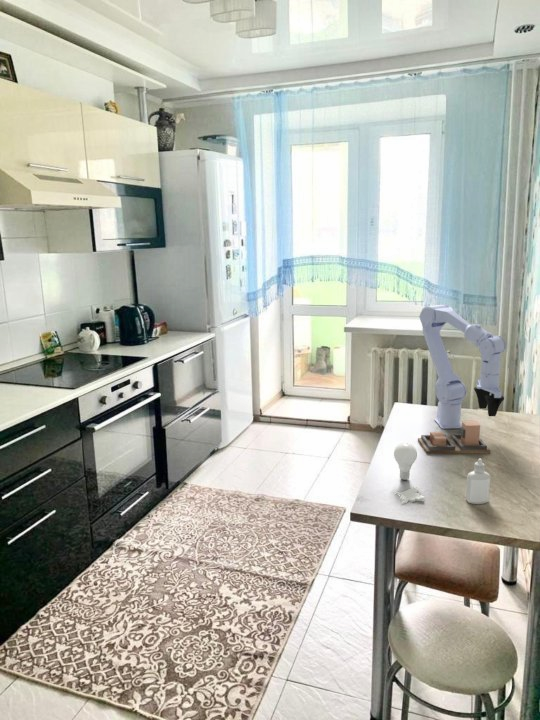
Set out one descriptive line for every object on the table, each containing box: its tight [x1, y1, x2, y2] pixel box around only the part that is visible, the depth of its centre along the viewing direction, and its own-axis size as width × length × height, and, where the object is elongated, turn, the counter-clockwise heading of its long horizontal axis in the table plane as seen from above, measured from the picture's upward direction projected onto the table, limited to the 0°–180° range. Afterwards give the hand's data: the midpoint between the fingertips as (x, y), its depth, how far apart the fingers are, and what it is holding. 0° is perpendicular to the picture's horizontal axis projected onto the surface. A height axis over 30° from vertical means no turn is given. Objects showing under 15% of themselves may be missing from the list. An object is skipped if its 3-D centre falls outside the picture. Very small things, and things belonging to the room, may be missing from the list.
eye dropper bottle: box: [465, 458, 491, 505], centre depth 139 cm, size 4×6×12 cm
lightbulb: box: [393, 442, 418, 481], centre depth 152 cm, size 6×6×11 cm
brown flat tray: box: [417, 431, 491, 455], centre depth 174 cm, size 11×20×4 cm, turn 89°
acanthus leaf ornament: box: [394, 487, 425, 505], centre depth 144 cm, size 8×7×2 cm
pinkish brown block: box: [459, 420, 481, 445], centre depth 174 cm, size 4×5×7 cm
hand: (487, 412), depth 179 cm, fingers open, 7 cm apart
